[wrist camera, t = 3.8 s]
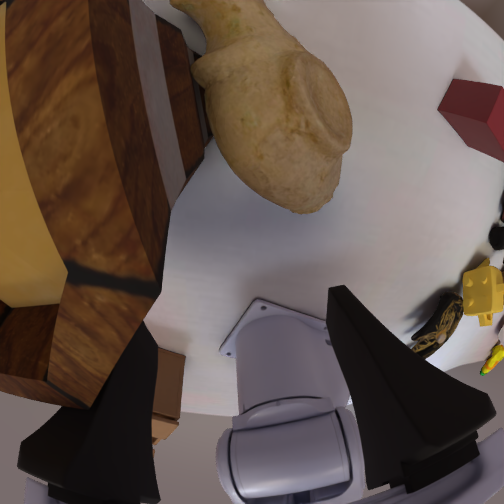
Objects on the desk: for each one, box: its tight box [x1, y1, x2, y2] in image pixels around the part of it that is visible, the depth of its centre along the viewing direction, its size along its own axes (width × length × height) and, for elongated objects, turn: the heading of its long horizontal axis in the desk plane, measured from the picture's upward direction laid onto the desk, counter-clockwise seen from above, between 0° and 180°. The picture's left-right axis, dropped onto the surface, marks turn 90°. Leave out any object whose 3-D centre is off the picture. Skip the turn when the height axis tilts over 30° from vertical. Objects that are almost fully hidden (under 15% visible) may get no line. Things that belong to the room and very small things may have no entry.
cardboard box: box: [152, 348, 185, 445], centre depth 25 cm, size 11×11×8 cm
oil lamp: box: [170, 0, 352, 214], centre depth 12 cm, size 11×14×5 cm
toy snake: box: [411, 291, 464, 359], centre depth 28 cm, size 18×5×10 cm
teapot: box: [462, 258, 504, 326], centre depth 22 cm, size 8×6×5 cm
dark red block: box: [438, 79, 504, 162], centre depth 13 cm, size 4×5×6 cm
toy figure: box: [480, 345, 504, 376], centre depth 38 cm, size 7×4×12 cm
